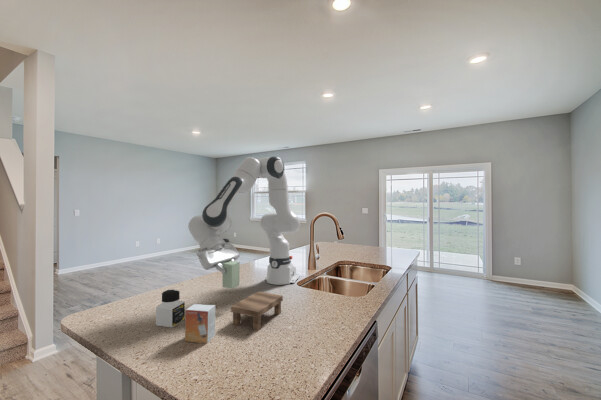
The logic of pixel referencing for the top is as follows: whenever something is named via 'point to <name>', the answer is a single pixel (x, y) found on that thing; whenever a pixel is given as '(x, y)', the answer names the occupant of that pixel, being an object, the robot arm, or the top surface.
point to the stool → (256, 307)
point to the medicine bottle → (170, 309)
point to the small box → (200, 323)
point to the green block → (231, 274)
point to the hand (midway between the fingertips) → (230, 271)
